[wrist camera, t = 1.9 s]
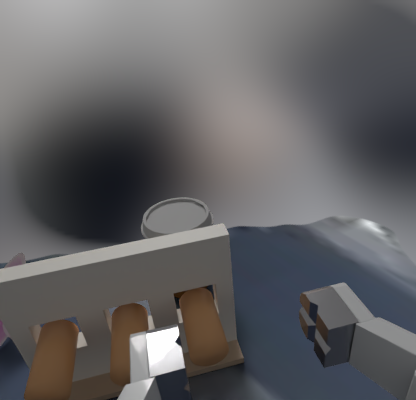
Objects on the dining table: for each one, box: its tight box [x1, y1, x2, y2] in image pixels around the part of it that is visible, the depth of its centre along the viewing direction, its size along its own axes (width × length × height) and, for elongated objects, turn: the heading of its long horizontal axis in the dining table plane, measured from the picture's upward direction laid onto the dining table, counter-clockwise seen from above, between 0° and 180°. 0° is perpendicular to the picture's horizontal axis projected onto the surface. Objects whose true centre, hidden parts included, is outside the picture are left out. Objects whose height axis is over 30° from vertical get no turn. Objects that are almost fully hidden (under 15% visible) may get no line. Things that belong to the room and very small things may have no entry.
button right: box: [179, 288, 229, 366], centre depth 33 cm, size 4×6×4 cm, turn 13°
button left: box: [24, 320, 79, 400], centre depth 31 cm, size 4×6×4 cm, turn 13°
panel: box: [0, 223, 244, 400], centre depth 36 cm, size 22×7×16 cm, turn 103°
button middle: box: [110, 303, 149, 386], centre depth 32 cm, size 4×6×4 cm, turn 13°
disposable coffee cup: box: [141, 198, 213, 298], centre depth 47 cm, size 10×10×12 cm
